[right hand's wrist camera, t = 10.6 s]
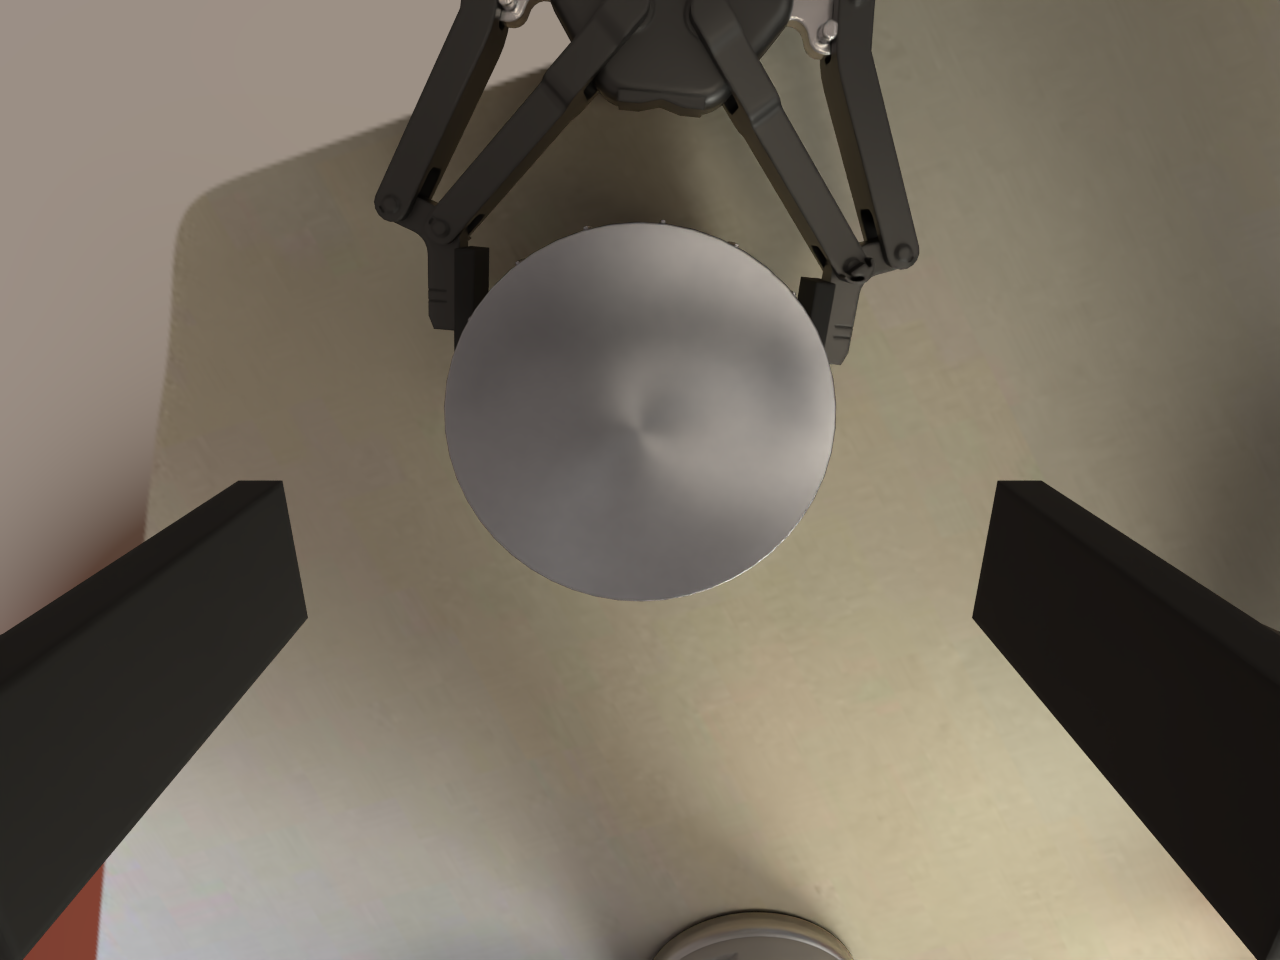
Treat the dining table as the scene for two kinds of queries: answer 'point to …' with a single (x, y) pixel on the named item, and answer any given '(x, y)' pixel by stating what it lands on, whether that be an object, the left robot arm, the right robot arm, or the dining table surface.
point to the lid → (640, 411)
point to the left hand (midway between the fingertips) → (632, 424)
